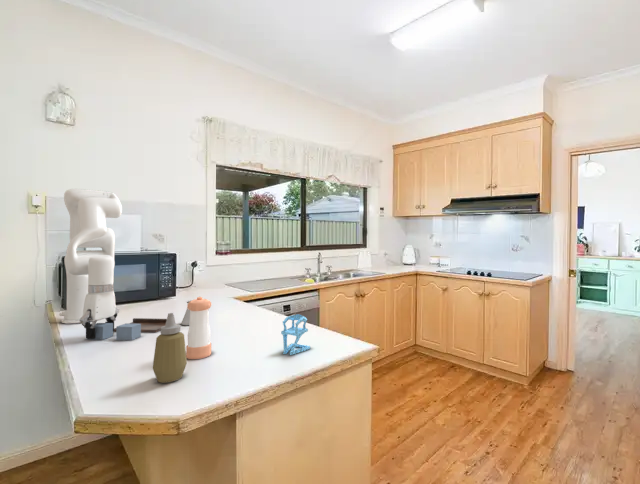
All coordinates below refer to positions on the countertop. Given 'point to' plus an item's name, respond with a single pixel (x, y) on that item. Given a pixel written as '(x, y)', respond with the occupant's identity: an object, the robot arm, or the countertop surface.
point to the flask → (186, 316)
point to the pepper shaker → (199, 329)
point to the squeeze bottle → (169, 352)
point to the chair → (294, 334)
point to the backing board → (149, 324)
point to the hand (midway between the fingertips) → (100, 335)
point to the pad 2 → (128, 331)
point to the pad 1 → (103, 331)
